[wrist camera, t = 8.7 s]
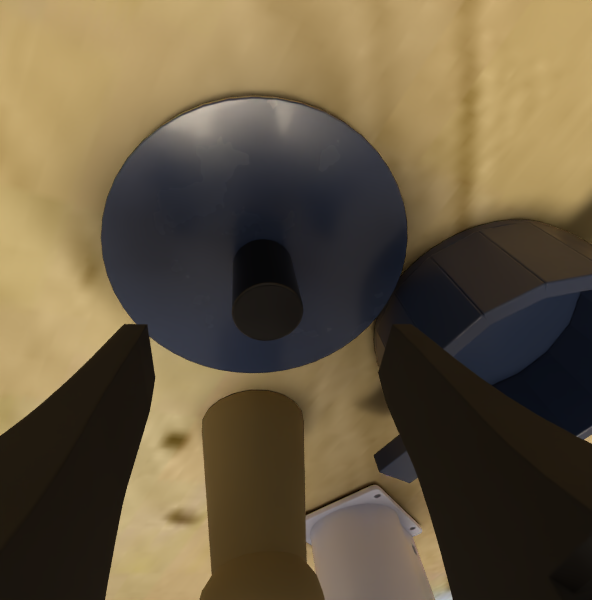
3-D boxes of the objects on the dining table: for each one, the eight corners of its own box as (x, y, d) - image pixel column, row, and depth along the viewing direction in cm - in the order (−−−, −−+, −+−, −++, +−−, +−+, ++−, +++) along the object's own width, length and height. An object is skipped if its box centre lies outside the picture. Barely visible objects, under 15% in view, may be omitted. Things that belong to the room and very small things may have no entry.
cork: (237, 375, 20) (238, 643, 11) (323, 411, 23) (380, 653, 14) (182, 439, 22) (146, 704, 13) (266, 465, 25) (283, 703, 16)
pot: (670, 256, 19) (786, 312, 15) (429, 439, 26) (466, 514, 22) (562, 109, 15) (690, 134, 10) (298, 379, 21) (313, 461, 17)
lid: (454, 219, 17) (516, 268, 13) (289, 388, 21) (299, 461, 18) (209, 2, 11) (196, -19, 8) (60, 288, 16) (8, 361, 12)
